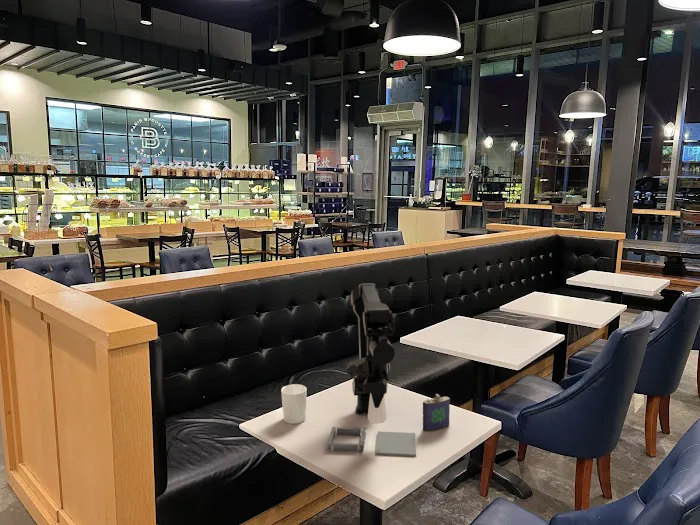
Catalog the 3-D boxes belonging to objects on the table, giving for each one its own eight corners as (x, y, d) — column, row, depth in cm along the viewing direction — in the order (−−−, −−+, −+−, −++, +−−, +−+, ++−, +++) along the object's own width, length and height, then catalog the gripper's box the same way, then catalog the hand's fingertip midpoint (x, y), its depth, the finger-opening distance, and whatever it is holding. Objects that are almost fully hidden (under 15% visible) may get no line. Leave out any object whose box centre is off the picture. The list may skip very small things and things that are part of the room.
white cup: (277, 419, 165) (276, 389, 164) (296, 411, 171) (295, 382, 169) (292, 427, 160) (291, 396, 158) (312, 419, 165) (311, 389, 163)
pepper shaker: (376, 426, 145) (376, 389, 143) (363, 418, 149) (363, 382, 147) (390, 419, 148) (390, 383, 146) (378, 412, 152) (377, 377, 150)
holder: (332, 433, 156) (332, 426, 156) (365, 434, 155) (365, 428, 155) (327, 450, 146) (327, 443, 146) (363, 452, 145) (363, 445, 145)
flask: (446, 422, 162) (447, 390, 160) (451, 426, 159) (452, 393, 158) (420, 428, 158) (421, 395, 156) (426, 433, 156) (426, 399, 154)
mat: (377, 433, 156) (377, 431, 156) (415, 434, 155) (415, 432, 154) (375, 454, 144) (375, 452, 144) (416, 456, 143) (416, 454, 143)
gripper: (352, 339, 155) (352, 389, 158) (343, 362, 137) (344, 418, 140) (390, 341, 154) (389, 391, 156) (386, 363, 136) (386, 420, 138)
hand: (377, 404), depth 148 cm, fingers closed on pepper shaker, 4 cm apart
